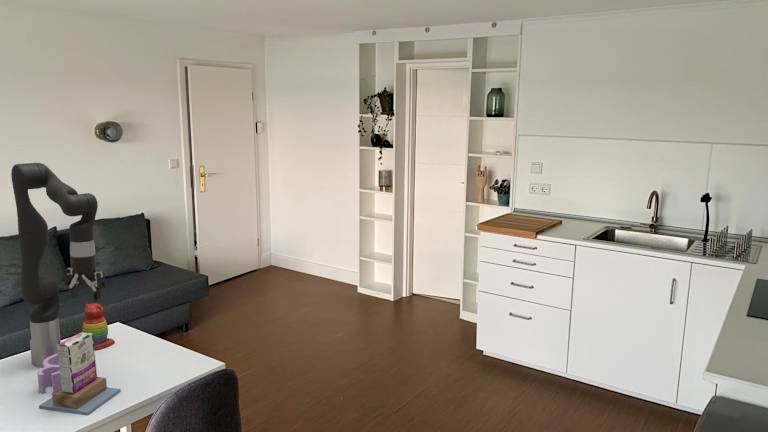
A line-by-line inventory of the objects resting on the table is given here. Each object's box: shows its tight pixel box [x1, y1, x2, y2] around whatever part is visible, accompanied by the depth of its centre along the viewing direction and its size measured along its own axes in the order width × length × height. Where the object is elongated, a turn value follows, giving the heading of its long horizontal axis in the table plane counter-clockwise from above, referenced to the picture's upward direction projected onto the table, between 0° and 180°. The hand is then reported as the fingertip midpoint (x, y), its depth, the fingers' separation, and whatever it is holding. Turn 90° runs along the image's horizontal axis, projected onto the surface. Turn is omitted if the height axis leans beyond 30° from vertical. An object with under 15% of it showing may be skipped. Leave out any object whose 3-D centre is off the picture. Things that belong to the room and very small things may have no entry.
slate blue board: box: [38, 386, 122, 416], centre depth 195 cm, size 18×16×1 cm
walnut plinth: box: [51, 376, 108, 409], centre depth 195 cm, size 9×14×4 cm, turn 168°
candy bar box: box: [57, 331, 98, 393], centre depth 193 cm, size 11×5×16 cm, turn 168°
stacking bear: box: [81, 303, 116, 351], centre depth 237 cm, size 11×10×18 cm
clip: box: [36, 354, 61, 395], centre depth 208 cm, size 20×12×7 cm, turn 5°
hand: (85, 299), depth 200 cm, fingers open, 8 cm apart
